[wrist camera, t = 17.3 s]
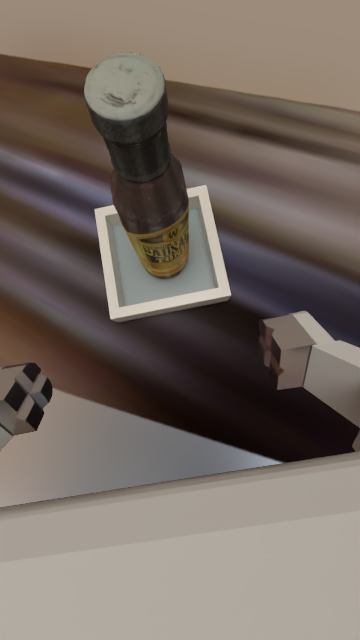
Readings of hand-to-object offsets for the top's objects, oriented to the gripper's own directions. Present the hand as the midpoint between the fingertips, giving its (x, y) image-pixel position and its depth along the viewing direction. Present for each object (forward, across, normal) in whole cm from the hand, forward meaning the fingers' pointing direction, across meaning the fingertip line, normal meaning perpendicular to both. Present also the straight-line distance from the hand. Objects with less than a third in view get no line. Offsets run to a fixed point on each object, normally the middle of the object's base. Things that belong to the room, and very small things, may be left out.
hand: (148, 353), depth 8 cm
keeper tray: (+24, 0, +6) cm, 25 cm away
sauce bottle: (+24, 0, +5) cm, 24 cm away
